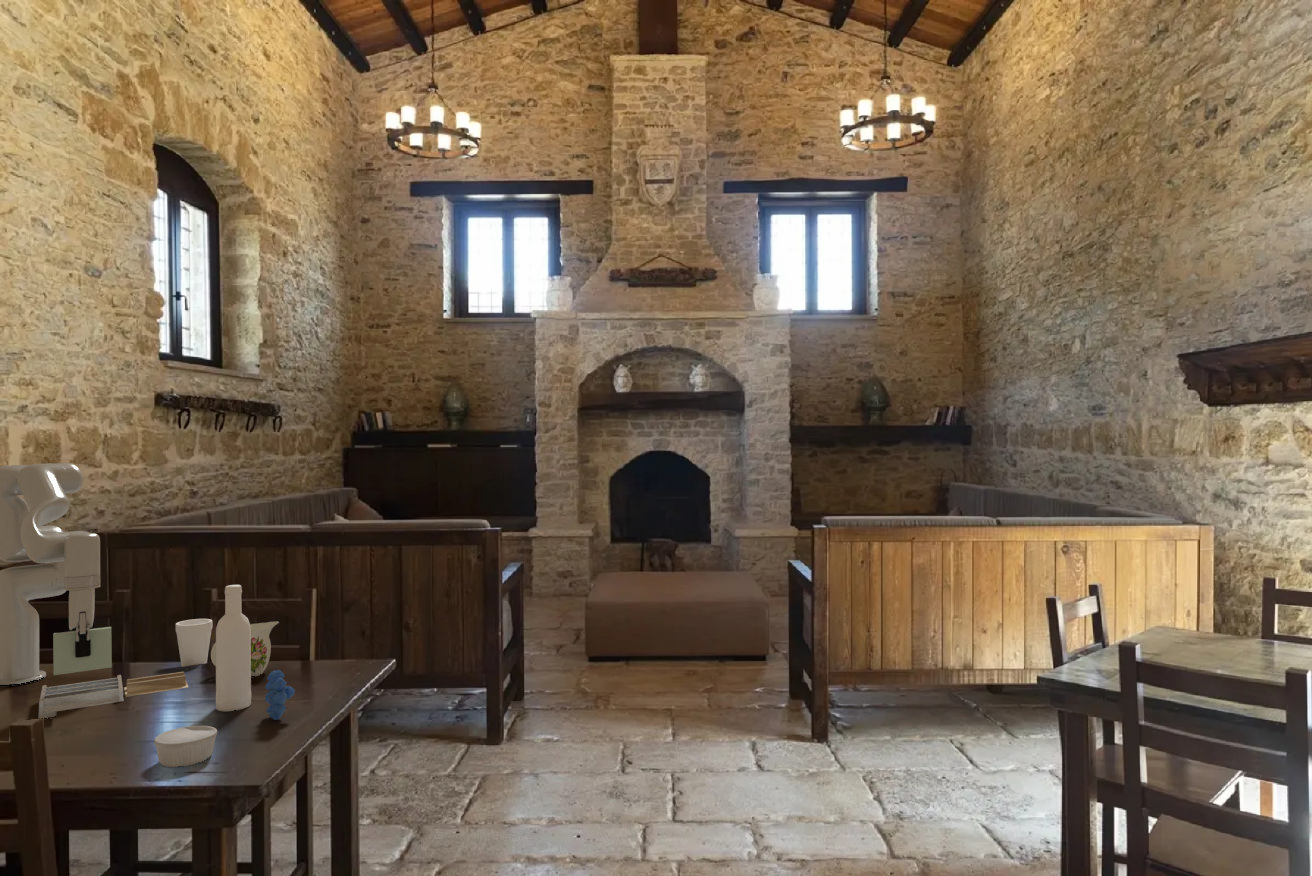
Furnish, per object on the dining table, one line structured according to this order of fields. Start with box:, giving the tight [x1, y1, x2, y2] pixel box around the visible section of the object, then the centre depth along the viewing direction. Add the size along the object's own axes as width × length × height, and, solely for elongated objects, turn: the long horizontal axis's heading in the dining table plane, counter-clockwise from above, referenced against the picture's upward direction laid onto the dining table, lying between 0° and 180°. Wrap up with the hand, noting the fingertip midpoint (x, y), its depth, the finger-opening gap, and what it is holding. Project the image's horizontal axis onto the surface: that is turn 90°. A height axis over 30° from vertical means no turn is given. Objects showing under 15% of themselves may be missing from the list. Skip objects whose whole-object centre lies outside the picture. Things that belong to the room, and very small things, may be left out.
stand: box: [123, 671, 189, 698], centre depth 217 cm, size 10×14×4 cm
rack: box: [38, 674, 125, 720], centre depth 208 cm, size 18×17×4 cm
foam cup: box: [175, 618, 213, 668], centre depth 244 cm, size 10×9×13 cm
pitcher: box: [210, 621, 280, 677], centre depth 234 cm, size 11×18×14 cm, turn 134°
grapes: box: [264, 669, 296, 721], centre depth 196 cm, size 12×7×12 cm, turn 36°
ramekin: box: [153, 725, 218, 768], centre depth 171 cm, size 11×11×5 cm
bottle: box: [215, 584, 252, 712], centre depth 205 cm, size 8×8×30 cm
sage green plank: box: [52, 626, 113, 676], centre depth 208 cm, size 2×12×10 cm, turn 124°
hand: (83, 655), depth 208 cm, fingers closed on sage green plank, 2 cm apart
